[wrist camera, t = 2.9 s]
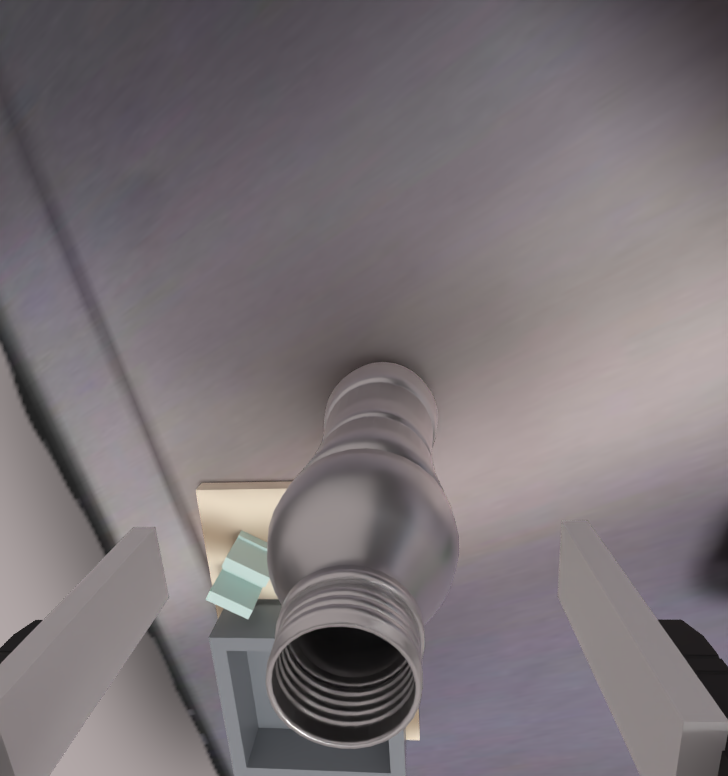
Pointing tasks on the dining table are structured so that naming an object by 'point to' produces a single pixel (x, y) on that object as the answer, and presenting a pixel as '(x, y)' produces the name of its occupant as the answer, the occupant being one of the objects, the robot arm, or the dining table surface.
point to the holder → (260, 721)
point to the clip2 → (241, 576)
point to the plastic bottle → (360, 564)
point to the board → (245, 530)
